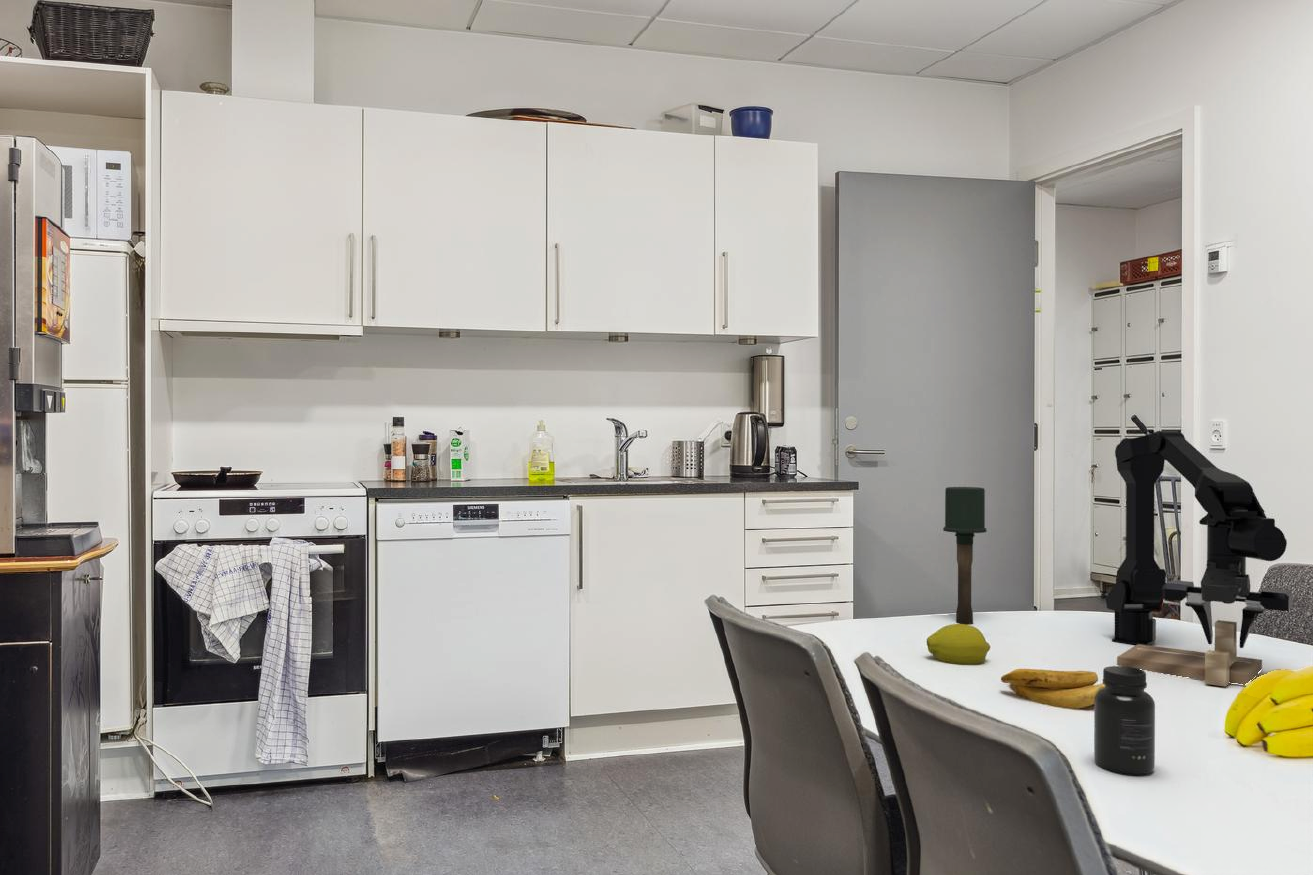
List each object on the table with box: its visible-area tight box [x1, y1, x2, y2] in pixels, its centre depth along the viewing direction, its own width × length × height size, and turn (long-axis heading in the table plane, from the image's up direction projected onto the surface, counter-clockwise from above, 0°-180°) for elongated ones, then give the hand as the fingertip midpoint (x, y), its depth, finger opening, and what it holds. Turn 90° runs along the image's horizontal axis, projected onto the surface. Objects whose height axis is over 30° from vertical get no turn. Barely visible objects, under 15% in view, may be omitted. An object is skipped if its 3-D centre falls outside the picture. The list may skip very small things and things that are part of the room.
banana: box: [1000, 668, 1105, 710], centre depth 155 cm, size 15×19×6 cm
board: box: [1116, 644, 1263, 685], centre depth 175 cm, size 20×14×2 cm
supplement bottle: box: [1093, 665, 1156, 776], centre depth 124 cm, size 7×7×12 cm
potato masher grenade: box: [942, 486, 987, 626], centre depth 207 cm, size 8×9×30 cm
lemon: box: [926, 623, 991, 666], centre depth 175 cm, size 11×8×8 cm
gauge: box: [1204, 619, 1238, 688], centre depth 168 cm, size 3×13×9 cm, turn 141°
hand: (1225, 645), depth 170 cm, fingers open, 4 cm apart
